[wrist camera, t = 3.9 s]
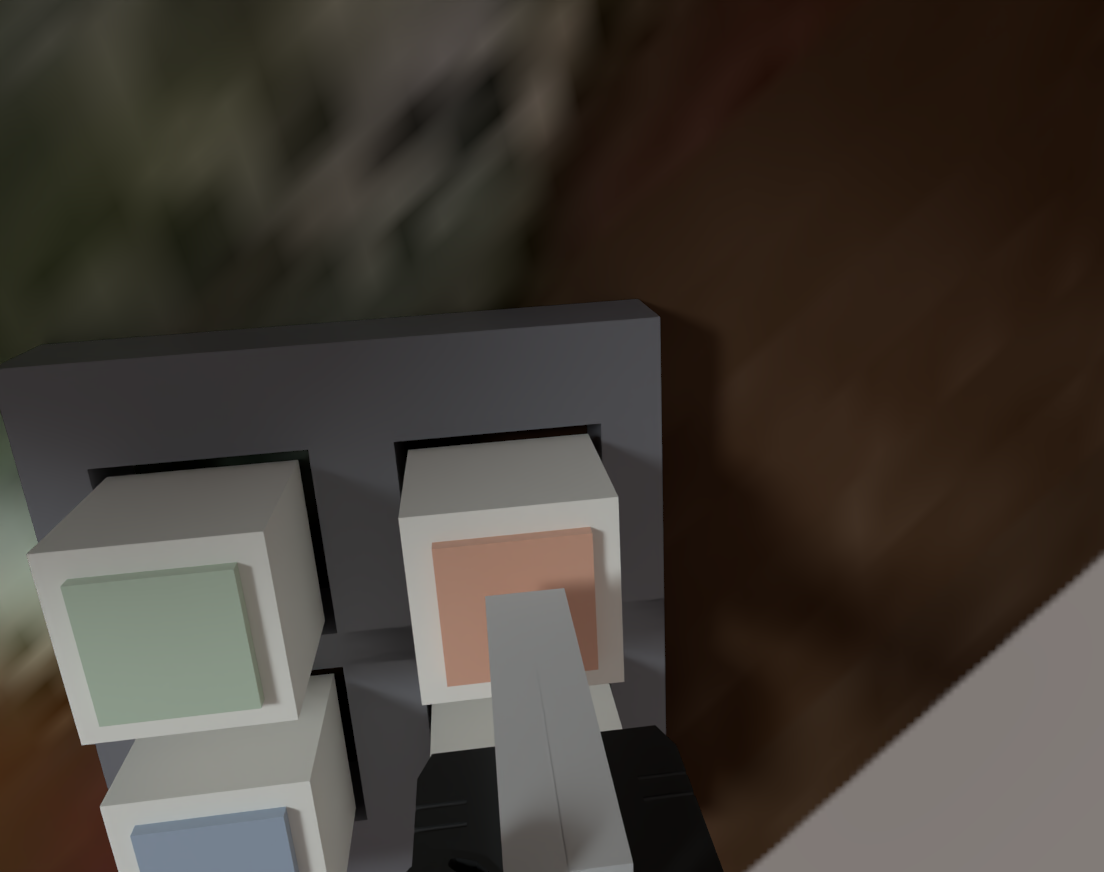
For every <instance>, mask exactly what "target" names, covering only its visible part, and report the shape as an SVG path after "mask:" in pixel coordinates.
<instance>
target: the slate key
mask: <svg viewBox="0 0 1104 872" xmlns="http://www.w3.org/2000/svg"><path fill="white" fill-rule="evenodd" d="M100 810H101V813H102V817H103V820H104V824H105V827H106V830H107V834H108V837H109V841H110V844H111V848H112V851H113V855H114V858H115V861H116V865H117V868H118V872H347V866H348V859H349V852H350V845H351V838H352V831H353V824H354V817H355V810H356V805H355V799H354V793H353V787H352V781H351V774H350V768H349V762H348V756H347V750H346V744H345V738H344V732H343V726H342V720H341V714H340V708H339V702H338V696H337V690H336V684H335V678H334V673H333V674H324V675H315V676H310V678H309V682H308V686H307V689H306V693H305V697H304V701H303V704H302V708H301V712H300V716H299V719H298V720H293V721H284V722H276V723H267V724H258V725H250V726H241V727H233V728H224V729H216V730H207V731H199V732H190V733H181V734H173V735H164V736H156V737H147V738H139V739H136V740H135V741H134V743H133V745H132V747H131V749H130V751H129V753H128V755H127V757H126V758H125V760H124V762H123V764H122V766H121V768H120V770H119V772H118V773H117V775H116V777H115V779H114V781H113V783H112V785H111V787H110V788H109V790H108V792H107V794H106V796H105V798H104V800H103V802H102V803H101V805H100Z"/></svg>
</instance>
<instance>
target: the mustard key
mask: <svg viewBox="0 0 1104 872" xmlns="http://www.w3.org/2000/svg"><path fill="white" fill-rule="evenodd" d="M589 689H590V693H591V697H592V701H593V705H594V709H595V713H596V717H597V721H598V725H599V729H600V732H601V731H610V730H618V729H622V725H621V722H620V719H619V715H618V712H617V709H616V705H615V702H614V698H613V695H612V692H611V688H610V685H609V684H601V685H592V686H589ZM494 746H495V739H494V724H493V709H492V697H490V698H481V699H472V700H464V701H455V702H447V703H438V704H432V716H431V745H430V757H431V755H432V754H435V753H444V752H452V751H461V750H469V749H477V748H486V747H494Z"/></svg>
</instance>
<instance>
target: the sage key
mask: <svg viewBox="0 0 1104 872" xmlns="http://www.w3.org/2000/svg"><path fill="white" fill-rule="evenodd" d="M26 555H27V559H28V562H29V566H30V569H31V572H32V576H33V579H34V583H35V586H36V590H37V593H38V596H39V600H40V603H41V607H42V610H43V614H44V617H45V621H46V624H47V627H48V631H49V634H50V638H51V641H52V645H53V648H54V652H55V655H56V658H57V662H58V665H59V669H60V672H61V676H62V679H63V682H64V686H65V689H66V693H67V696H68V700H69V703H70V707H71V710H72V713H73V717H74V720H75V724H76V727H77V731H78V734H79V738H80V741H81V744H82V745H87V744H96V743H104V742H113V741H121V740H130V739H139V738H147V737H156V736H164V735H173V734H181V733H190V732H199V731H207V730H216V729H224V728H233V727H241V726H250V725H258V724H267V723H276V722H284V721H293V720H298V719H299V716H300V712H301V708H302V704H303V701H304V697H305V693H306V689H307V686H308V682H309V678H310V674H311V671H312V667H313V663H314V659H315V656H316V652H317V648H318V644H319V641H320V637H321V633H322V629H323V626H324V622H325V618H324V612H323V606H322V599H321V593H320V587H319V581H318V575H317V569H316V563H315V557H314V551H313V545H312V539H311V533H310V527H309V521H308V515H307V509H306V503H305V497H304V491H303V485H302V479H301V473H300V467H299V461H298V460H290V461H279V462H268V463H257V464H245V465H234V466H223V467H212V468H201V469H190V470H179V471H168V472H157V473H146V474H135V475H124V476H113V477H106V478H105V479H104V480H103V481H102V482H101V483H100V484H99V485H98V486H97V487H96V488H95V489H94V490H93V491H92V492H91V493H90V494H89V495H88V496H87V497H86V498H85V499H84V500H83V501H81V502H80V503H79V504H78V505H77V506H76V507H75V508H74V509H73V510H72V511H71V512H70V513H69V514H68V515H67V516H66V517H65V518H64V519H63V520H62V521H61V522H60V523H59V524H57V525H56V526H55V527H54V528H53V529H52V530H51V531H50V532H49V533H48V534H47V535H46V536H45V537H44V538H43V539H42V540H41V541H40V542H39V543H38V544H37V545H36V546H35V547H33V548H32V549H31V550H30V551H29V552H28V553H27V554H26Z"/></svg>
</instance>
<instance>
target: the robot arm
mask: <svg viewBox="0 0 1104 872" xmlns="http://www.w3.org/2000/svg"><path fill="white" fill-rule="evenodd" d="M485 603H486V618H487V633H488V648H489V664H490V679H491V694H492V709H493V724H494V739H495V746H494V747H486V748H477V749H469V750H461V751H452V752H444V753H435V754H432V755H431V757H430V758H429V760H428V762H427V763H426V765H425V767H424V768H423V770H422V772H421V773H420V775H419V777H418V778H417V791H416V811H415V824H414V840H413V856H412V867H410V868H409V869H408V870H407V872H723V869H722V866H721V864H720V861H719V858H718V856H717V853H716V850H715V848H714V845H713V842H712V840H711V837H710V834H709V832H708V829H707V826H706V823H705V821H704V818H703V815H702V813H701V810H700V807H699V805H698V802H697V799H696V797H695V796H694V794H693V789H692V786H691V783H690V781H689V778H688V775H686V770H685V767H684V765H683V762H682V759H681V757H680V754H679V751H678V749H677V746H676V744H675V743H673V742H672V741H671V740H670V739H669V738H668V737H667V736H666V735H665V734H664V733H663V732H662V731H661V730H660V729H659V728H658V727H657V726H656V725H652V726H644V727H635V728H627V729H618V730H610V731H601V732H600V729H599V725H598V721H597V717H596V713H595V709H594V705H593V701H592V697H591V693H590V689H589V685H588V681H587V677H586V673H585V669H584V665H583V661H582V657H581V653H580V649H579V645H578V641H577V637H576V633H575V629H574V625H573V621H572V617H571V613H570V609H569V605H568V601H567V597H566V593H565V589H564V588H559V589H550V590H540V591H530V592H521V593H511V594H502V595H492V596H485Z"/></svg>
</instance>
